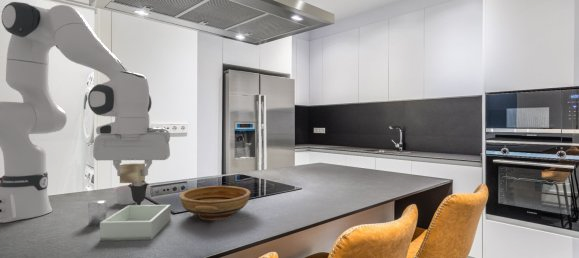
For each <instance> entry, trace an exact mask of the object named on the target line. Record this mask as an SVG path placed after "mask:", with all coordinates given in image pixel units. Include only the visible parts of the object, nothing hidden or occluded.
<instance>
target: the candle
mask: <svg viewBox="0 0 579 258" xmlns="http://www.w3.org/2000/svg"><path fill="white" fill-rule="evenodd" d="M128 185H129V184H127V185H119V186H116V187H114V188H113V189H114V193H115V199H116V202H117V204H118V205H121V206H128V205H133V204H137V203H136V202H134V201H133V199H132V193H131V188H130V187H128Z"/></svg>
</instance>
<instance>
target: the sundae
mask: <svg viewBox="0 0 579 258" xmlns="http://www.w3.org/2000/svg"><path fill="white" fill-rule="evenodd" d="M127 185H128V187H130V188H131V193H132V199H133V201H134V202H136V203H135V204H136V205H142V204H141V203H143V201H144V200H145V199H146V196H147V194H146V193H147V189H148V188H147V187H148V186H149V185H150V184H149V183H148V182H147V181H146V179H145V180H143V181H141V182H139V183H128V184H127Z"/></svg>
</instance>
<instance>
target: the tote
mask: <svg viewBox="0 0 579 258" xmlns="http://www.w3.org/2000/svg"><path fill="white" fill-rule="evenodd" d="M171 206H172V205H171V204H141V205H137V204H135V205H133V204H128V205H125V207H123V208H122V209H119V211H117V212H114V213H113V214H112V215H110V216H108V217H107V219H105V220H103V221H102V222H100V226H99V241H100V242H103V241H104V242H106V241H107V242H108V241H109V242H111V241H139V240H140V241H145V240H147V241H149V240H153V239H154V238H155V236H156V235H158V233H159V232H160V231H161V230H162V229H163V228H164V227H165V226H167V224H168V223H169V222H170V221H171V219H172V215H171V214H172V212H171V210H172V208H171Z"/></svg>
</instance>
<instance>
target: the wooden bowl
mask: <svg viewBox="0 0 579 258" xmlns="http://www.w3.org/2000/svg"><path fill="white" fill-rule="evenodd" d="M251 193H252V192H251V190H249V189H248V188H245V187H240V186H233V185H211V186H210V185H208V186H200V187H196V188H190V189H187V190H184V191H183V192H181V193H179V195H178V196H179V199H180V202H181V203H180V204H181V205H182V207H183V208H184V210H186V212H189V213H191V214H193V215H198V216H199V219H202V220H205V221H220V220H225V219H228V218H230V217H231V216H232V215H233V213H236V212H238V211H240V210H241V209H243V208H244V207H246V205H247V204H248V202H249V199H250V196H251Z"/></svg>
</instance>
